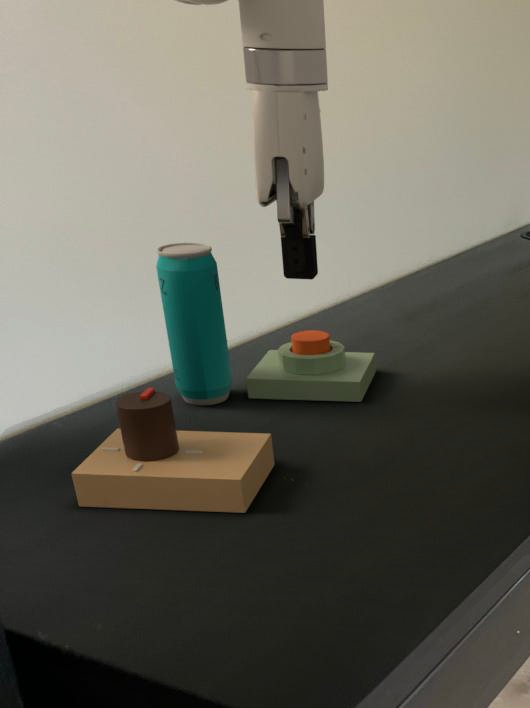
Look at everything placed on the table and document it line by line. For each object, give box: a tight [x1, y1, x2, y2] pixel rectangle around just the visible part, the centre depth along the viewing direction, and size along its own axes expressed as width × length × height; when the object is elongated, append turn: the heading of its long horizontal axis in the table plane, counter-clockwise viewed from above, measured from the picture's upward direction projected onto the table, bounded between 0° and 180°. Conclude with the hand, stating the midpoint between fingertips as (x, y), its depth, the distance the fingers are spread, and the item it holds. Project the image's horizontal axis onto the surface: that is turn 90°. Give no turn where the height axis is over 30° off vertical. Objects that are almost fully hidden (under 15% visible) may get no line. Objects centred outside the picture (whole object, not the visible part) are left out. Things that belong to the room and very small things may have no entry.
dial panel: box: [71, 428, 275, 514], centre depth 85 cm, size 14×10×3 cm
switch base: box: [245, 339, 377, 403], centre depth 107 cm, size 12×10×4 cm
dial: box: [114, 387, 179, 461], centre depth 83 cm, size 4×4×5 cm
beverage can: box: [155, 242, 233, 406], centre depth 100 cm, size 6×6×15 cm
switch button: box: [290, 329, 331, 355], centre depth 105 cm, size 4×4×2 cm
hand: (301, 276), depth 101 cm, fingers closed
